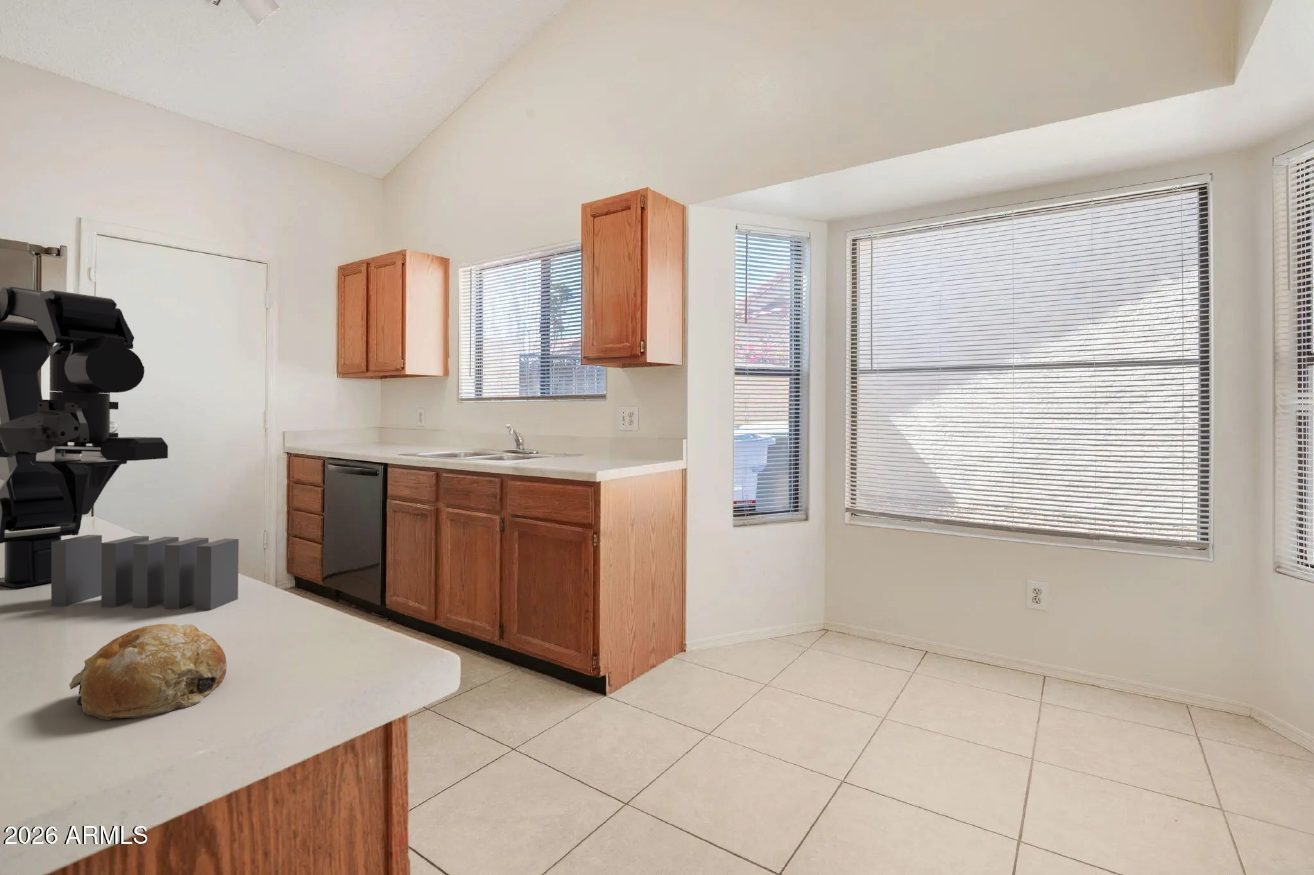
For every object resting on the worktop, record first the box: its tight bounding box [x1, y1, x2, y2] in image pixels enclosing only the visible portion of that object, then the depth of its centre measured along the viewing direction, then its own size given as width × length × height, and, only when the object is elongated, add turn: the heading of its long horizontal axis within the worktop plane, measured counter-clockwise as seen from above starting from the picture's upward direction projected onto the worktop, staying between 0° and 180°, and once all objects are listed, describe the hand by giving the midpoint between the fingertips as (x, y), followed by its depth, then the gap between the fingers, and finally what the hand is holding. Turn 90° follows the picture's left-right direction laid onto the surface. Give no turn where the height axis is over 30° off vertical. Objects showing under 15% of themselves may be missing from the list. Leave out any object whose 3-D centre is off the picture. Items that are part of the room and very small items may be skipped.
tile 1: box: [50, 534, 103, 607], centre depth 81 cm, size 2×5×8 cm, turn 179°
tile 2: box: [100, 535, 150, 608], centre depth 81 cm, size 2×5×8 cm, turn 179°
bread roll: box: [68, 623, 228, 721], centre depth 55 cm, size 10×10×8 cm
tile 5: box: [195, 537, 240, 611], centre depth 81 cm, size 2×5×8 cm, turn 179°
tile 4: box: [164, 537, 210, 610], centre depth 81 cm, size 2×5×8 cm, turn 179°
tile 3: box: [132, 536, 180, 609], centre depth 81 cm, size 2×5×8 cm, turn 179°
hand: (80, 514), depth 81 cm, fingers closed
